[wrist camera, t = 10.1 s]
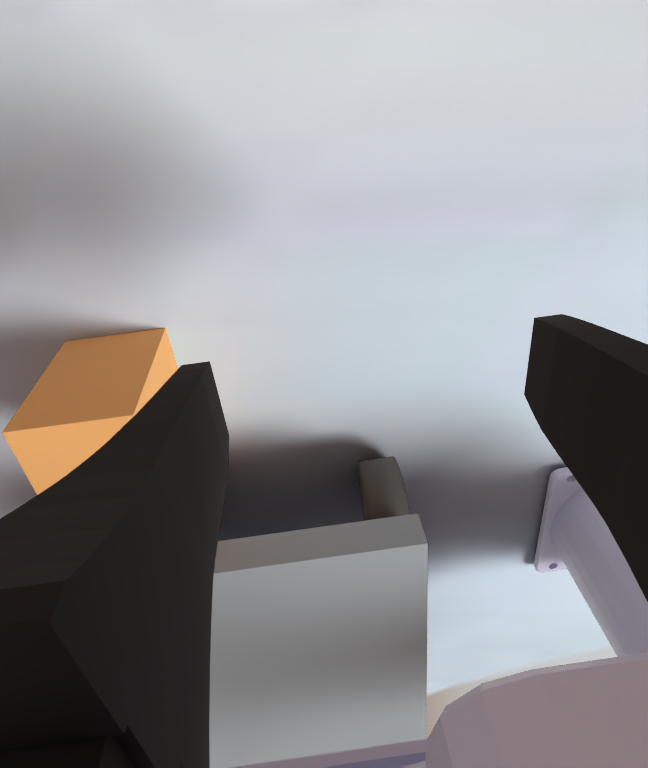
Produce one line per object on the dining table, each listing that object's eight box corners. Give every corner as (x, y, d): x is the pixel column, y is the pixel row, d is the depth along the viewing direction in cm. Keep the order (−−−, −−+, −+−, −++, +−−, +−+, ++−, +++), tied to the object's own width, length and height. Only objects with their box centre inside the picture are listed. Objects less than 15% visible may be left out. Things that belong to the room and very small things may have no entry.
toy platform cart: (393, 434, 25) (479, 705, 15) (401, 653, 35) (455, 901, 25) (141, 468, 25) (50, 768, 14) (225, 679, 35) (207, 939, 25)
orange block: (166, 326, 21) (133, 415, 16) (205, 457, 25) (189, 562, 20) (66, 339, 21) (2, 432, 16) (121, 469, 25) (83, 577, 20)
